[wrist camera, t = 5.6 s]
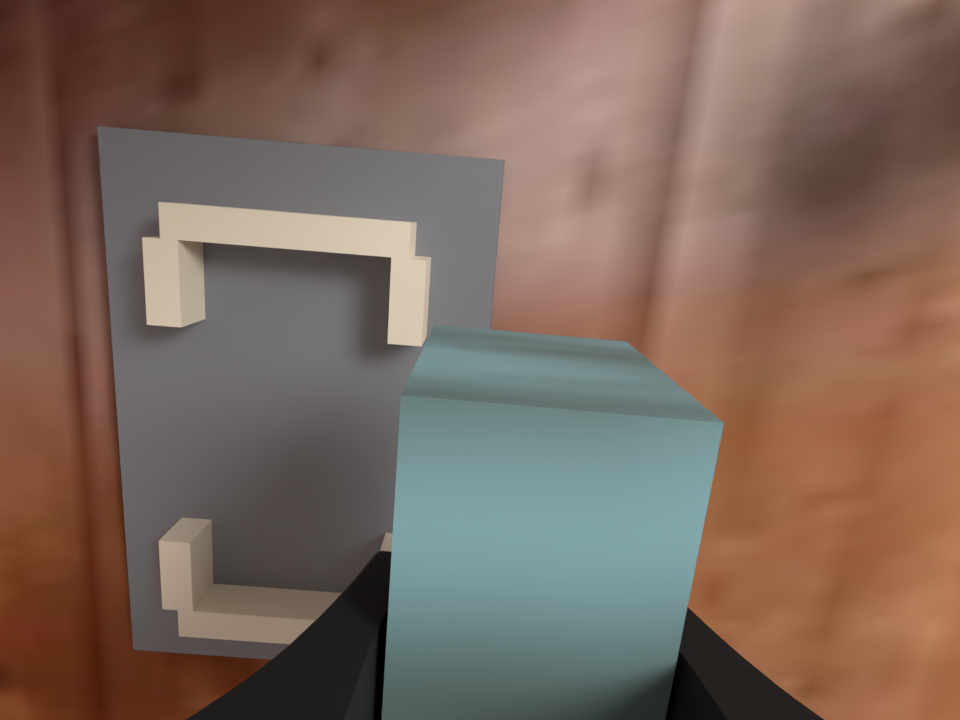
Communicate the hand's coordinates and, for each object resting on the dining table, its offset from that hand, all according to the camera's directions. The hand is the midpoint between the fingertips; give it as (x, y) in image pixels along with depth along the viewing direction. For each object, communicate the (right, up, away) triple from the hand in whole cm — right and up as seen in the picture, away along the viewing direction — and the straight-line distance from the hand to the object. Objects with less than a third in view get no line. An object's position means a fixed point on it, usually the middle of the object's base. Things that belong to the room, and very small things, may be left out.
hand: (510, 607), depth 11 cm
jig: (-7, +3, +9) cm, 11 cm away
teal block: (0, 0, +2) cm, 2 cm away
